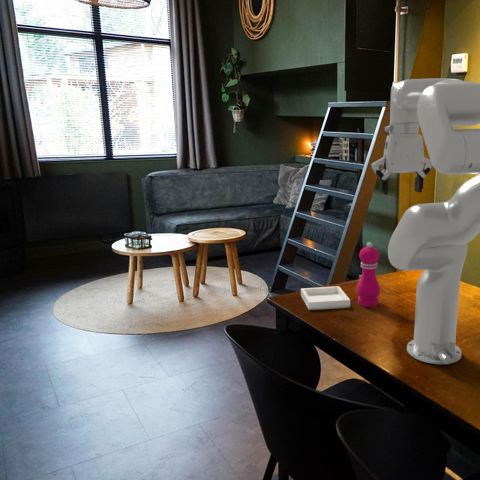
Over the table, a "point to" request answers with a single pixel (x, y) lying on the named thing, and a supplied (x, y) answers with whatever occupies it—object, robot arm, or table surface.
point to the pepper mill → (368, 277)
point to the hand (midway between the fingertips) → (401, 192)
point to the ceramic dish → (325, 298)
